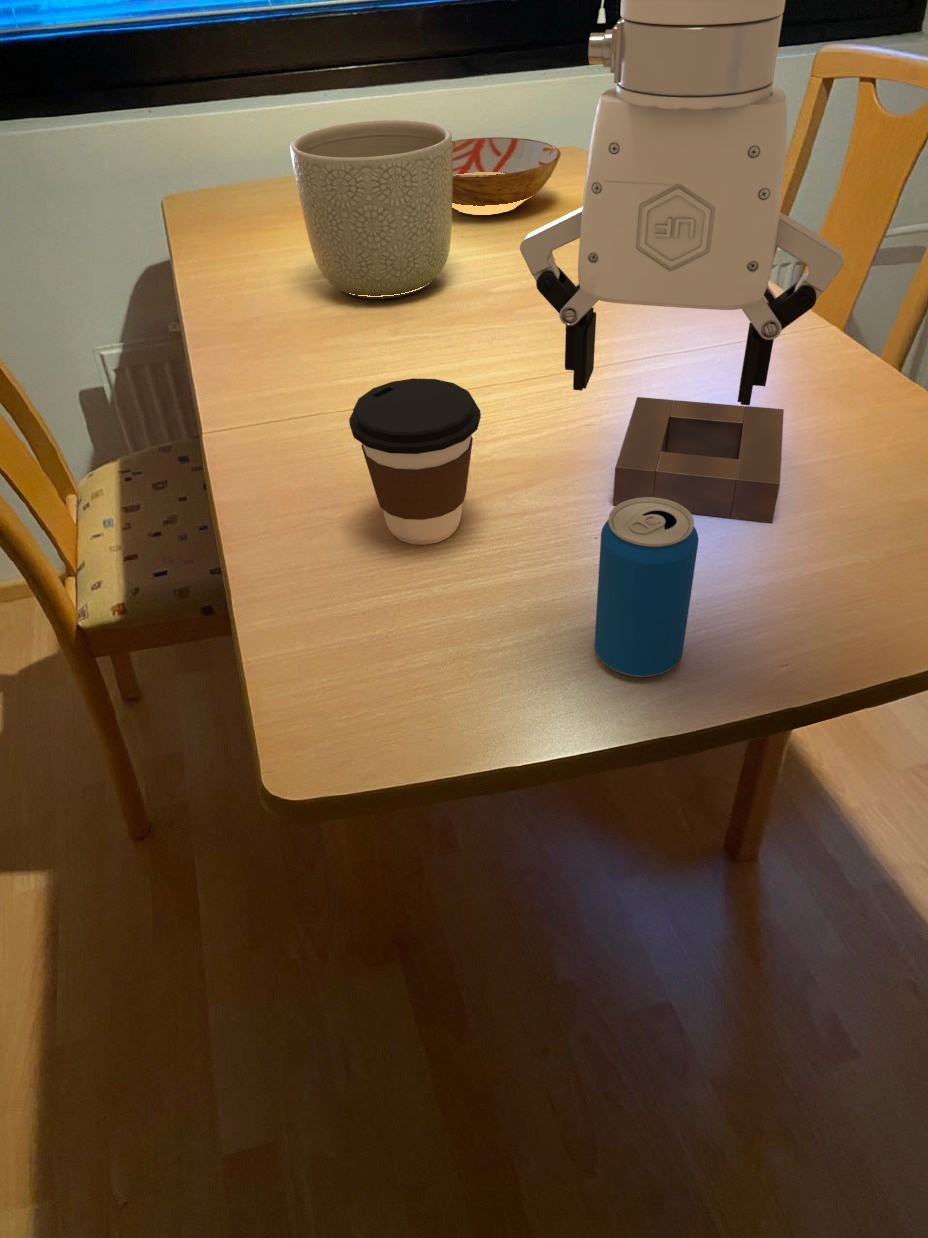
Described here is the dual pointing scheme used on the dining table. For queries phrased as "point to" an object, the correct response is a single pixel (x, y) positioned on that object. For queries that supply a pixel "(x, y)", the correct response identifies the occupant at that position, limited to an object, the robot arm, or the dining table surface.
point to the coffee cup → (418, 454)
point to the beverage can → (644, 585)
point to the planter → (377, 203)
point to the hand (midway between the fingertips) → (662, 387)
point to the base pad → (703, 457)
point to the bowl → (500, 169)
